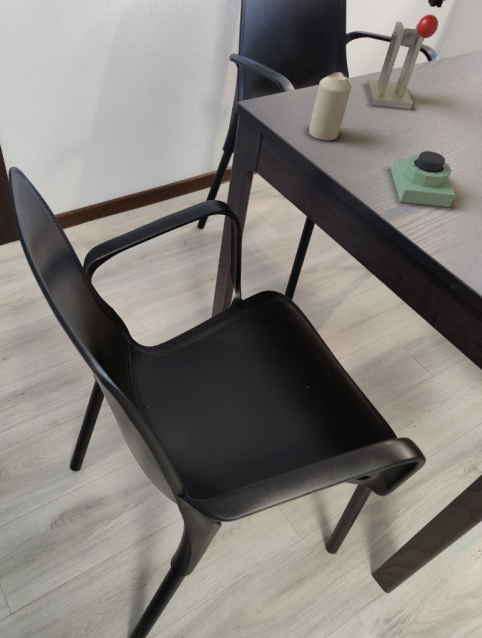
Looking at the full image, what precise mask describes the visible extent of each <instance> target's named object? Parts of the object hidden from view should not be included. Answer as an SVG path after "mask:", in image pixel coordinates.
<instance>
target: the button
mask: <svg viewBox="0 0 482 638" xmlns="http://www.w3.org/2000/svg"><path fill="white" fill-rule="evenodd" d="M419 154H420V155H419V157H418V160H417V162H416V167H418V168H419V169H420V170H423V171H426V172H430V173H438V172H440V171H441V169H442V167H443V165H444V162H446V158H445V157H444V155H442V154H440V153H438V152H435V151H432V150H425V151H424V150H423V151H421V152H420V153H419Z"/></svg>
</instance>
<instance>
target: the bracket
mask: <svg viewBox="0 0 482 638" xmlns="http://www.w3.org/2000/svg"><path fill="white" fill-rule="evenodd" d="M417 25H418V23H417V24H416V26H415V29H416V28H417ZM405 29H406V27H405V26H404V24H403V22H402V21H396V22H395V25H394V29H393V32H392V33H391V37H390V42H389V44H388V48H387V52H386V54H385V58H384V61H383V65H382V67H381V70H380V74H379V77H378V80H374V79H373V80H372V79H367V82H366V88H367V92H368V93H367V94H368V95H369V99H370V103H371V106H374V107H383V108H384V107H385V108H386V107H387V108H393V109H394V108H395V109H403V110H412V108H413V105H414V102H413V100H412V98H411V95H410V93H409V90H408V85H409V82H410V80H411V76H412V74H413V71H414V69H415V65H416V62H417V60H418V57H419V54H420V51H421V48H422V46H423V43H424V41H425V38H422V37H420V36H418V37H416V38H415V42H414V44H413V45H411V46H408V50H407V53H406V55H405V58H404V62H403V64H402V68H401V70H400V73H399V76H398V79H397V81H396V82H392V81H390V78H391V75H392V72H393V69H394V66H395V63H396V60H397V56H398V53H399V51H400V47H401V41H402V38H403V35H404V32H405Z"/></svg>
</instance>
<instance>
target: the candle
mask: <svg viewBox="0 0 482 638" xmlns="http://www.w3.org/2000/svg"><path fill="white" fill-rule="evenodd" d="M351 90H352V85H351V83H350V80H349V79H348V77H345V75H344V74H343V73H342V72H340V71H338V72H333V73H332V74H330V75H327V76H326V77H323V78H322V79H321V80H319V84H318V87H317V93H316V97H315V100H314V101H315V102H314V105H313V110H312V115H311V119H310V124H309V127H308V133H309V135H310V136H311V137H313V138H315V139H317V140H321V141H333V140H335V139H336V140H337V138H338V136H339V133H340V131H341V127H342V124H343V120H344V116H345V114H346V113H345V112H346V109H347V105H348V102H349V97H350V95H351Z"/></svg>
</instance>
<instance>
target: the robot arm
mask: <svg viewBox="0 0 482 638" xmlns="http://www.w3.org/2000/svg"><path fill="white" fill-rule="evenodd" d="M446 1H447V0H427V3H428V5H429V6H430V7H431V8H435V7H436V8H437V9H438V8H439V9H441V8H442V5H443V3H444V2H446Z"/></svg>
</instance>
